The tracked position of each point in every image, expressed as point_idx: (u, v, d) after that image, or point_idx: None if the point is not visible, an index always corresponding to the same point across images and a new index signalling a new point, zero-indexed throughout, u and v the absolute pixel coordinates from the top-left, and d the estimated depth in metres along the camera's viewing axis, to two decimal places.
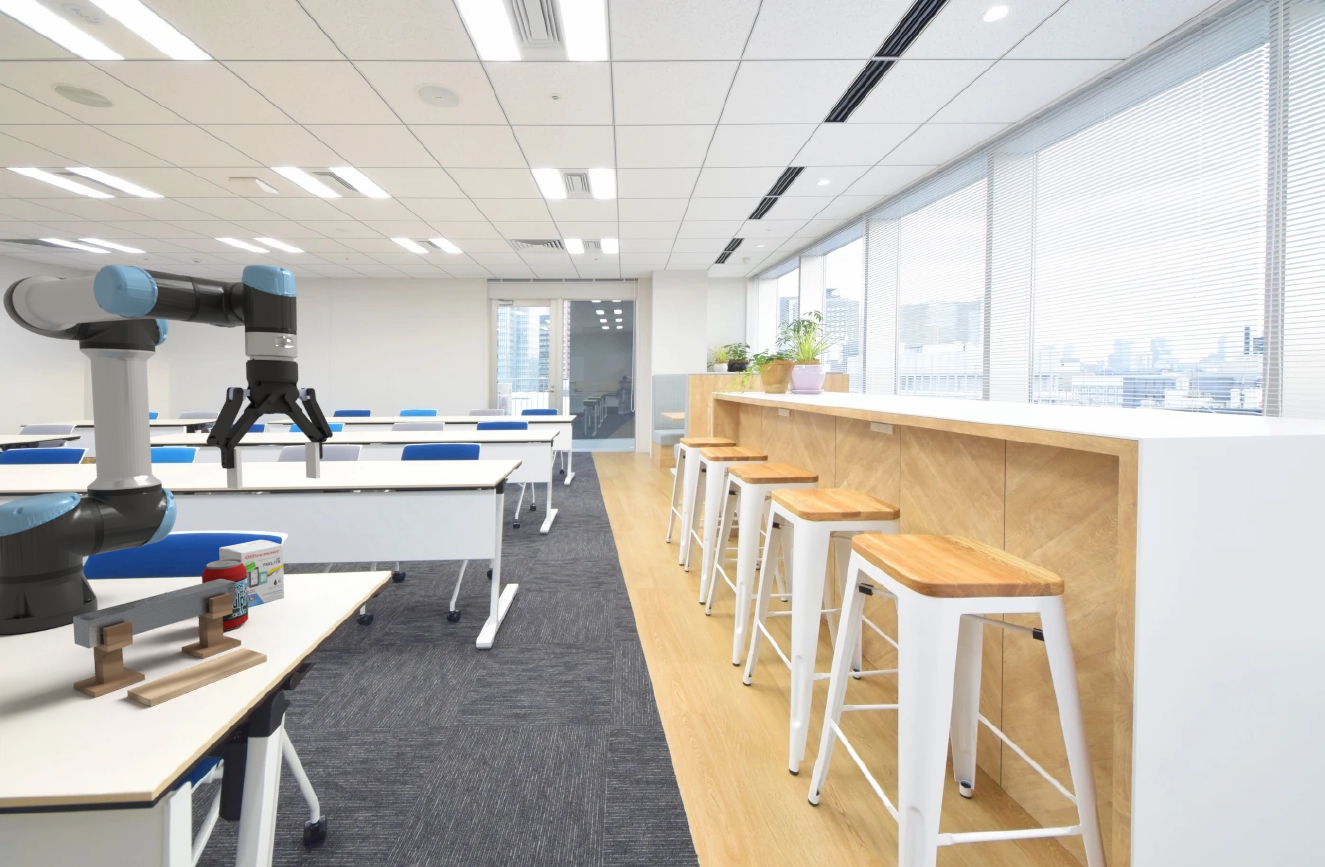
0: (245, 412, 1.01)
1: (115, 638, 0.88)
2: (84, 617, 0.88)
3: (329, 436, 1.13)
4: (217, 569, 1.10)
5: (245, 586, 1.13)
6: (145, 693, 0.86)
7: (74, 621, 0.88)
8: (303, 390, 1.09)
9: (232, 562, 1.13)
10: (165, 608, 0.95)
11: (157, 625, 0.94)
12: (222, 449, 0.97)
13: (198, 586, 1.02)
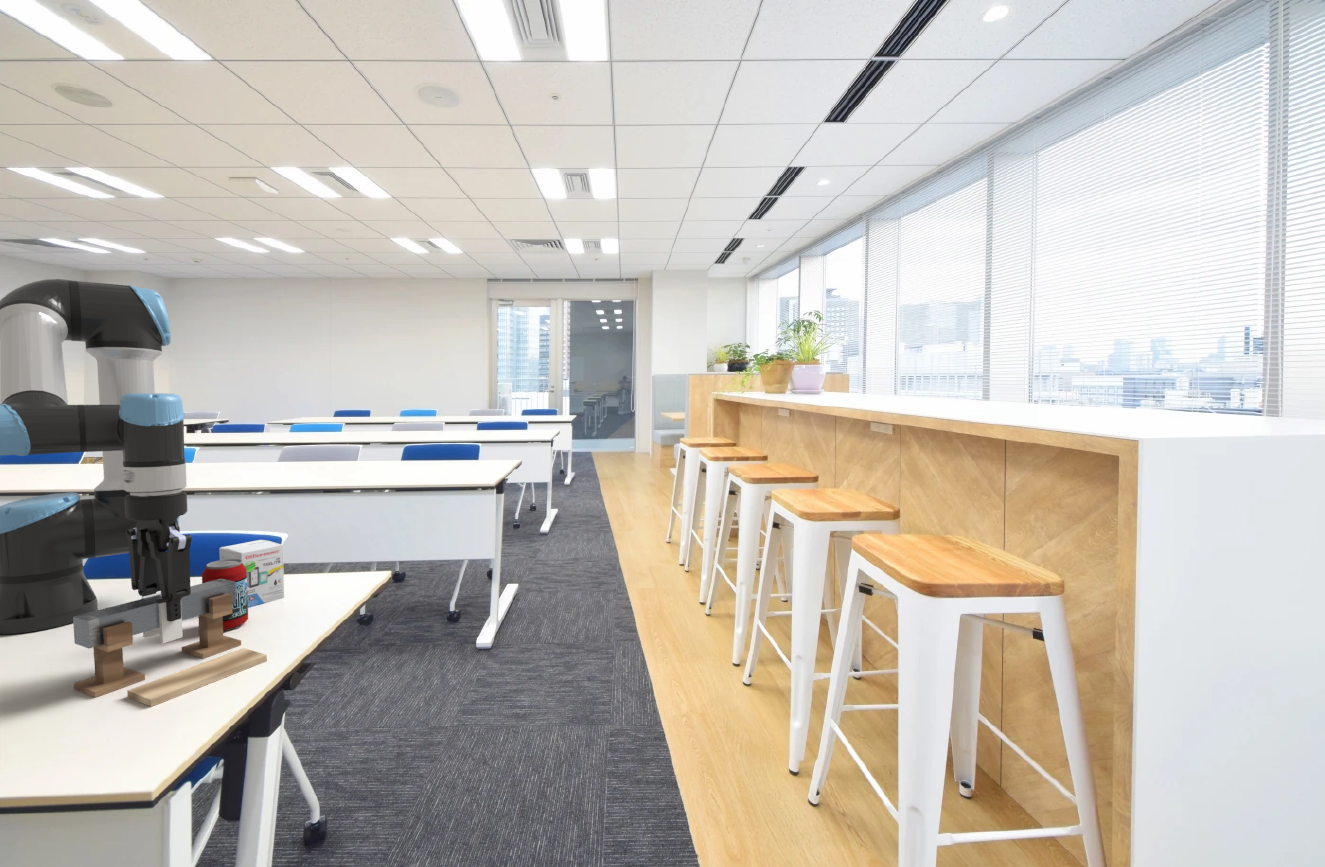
0: None
1: (115, 638, 0.88)
2: (84, 617, 0.88)
3: None
4: (217, 569, 1.10)
5: (245, 586, 1.13)
6: (145, 693, 0.86)
7: (74, 621, 0.88)
8: (173, 535, 0.93)
9: (232, 562, 1.13)
10: None
11: (157, 625, 0.94)
12: None
13: (198, 586, 1.02)
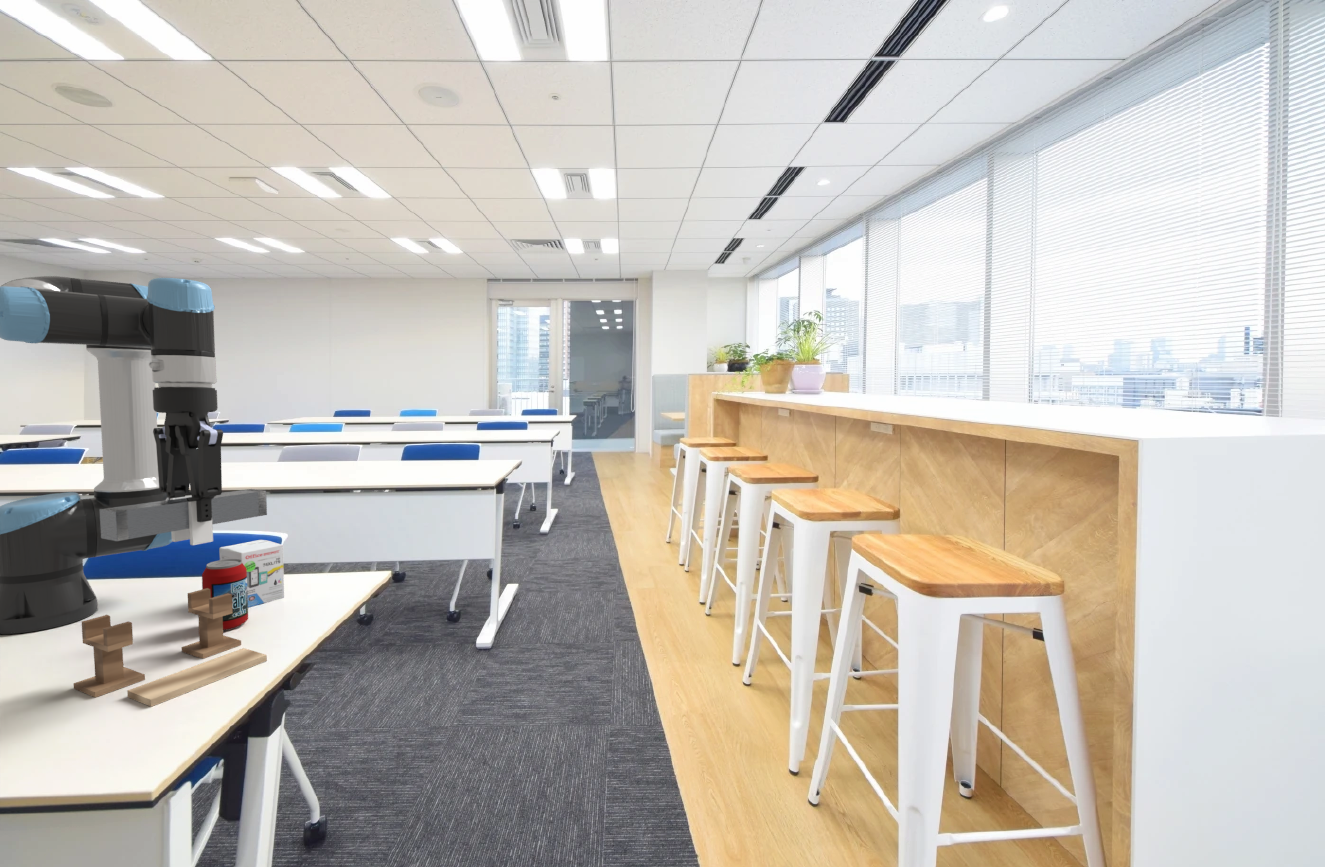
0: None
1: (115, 638, 0.88)
2: (111, 509, 0.83)
3: (200, 495, 0.88)
4: (217, 569, 1.10)
5: (245, 586, 1.13)
6: (145, 693, 0.86)
7: (101, 514, 0.83)
8: (204, 429, 0.88)
9: (232, 562, 1.13)
10: None
11: (187, 526, 0.89)
12: None
13: (228, 493, 0.97)
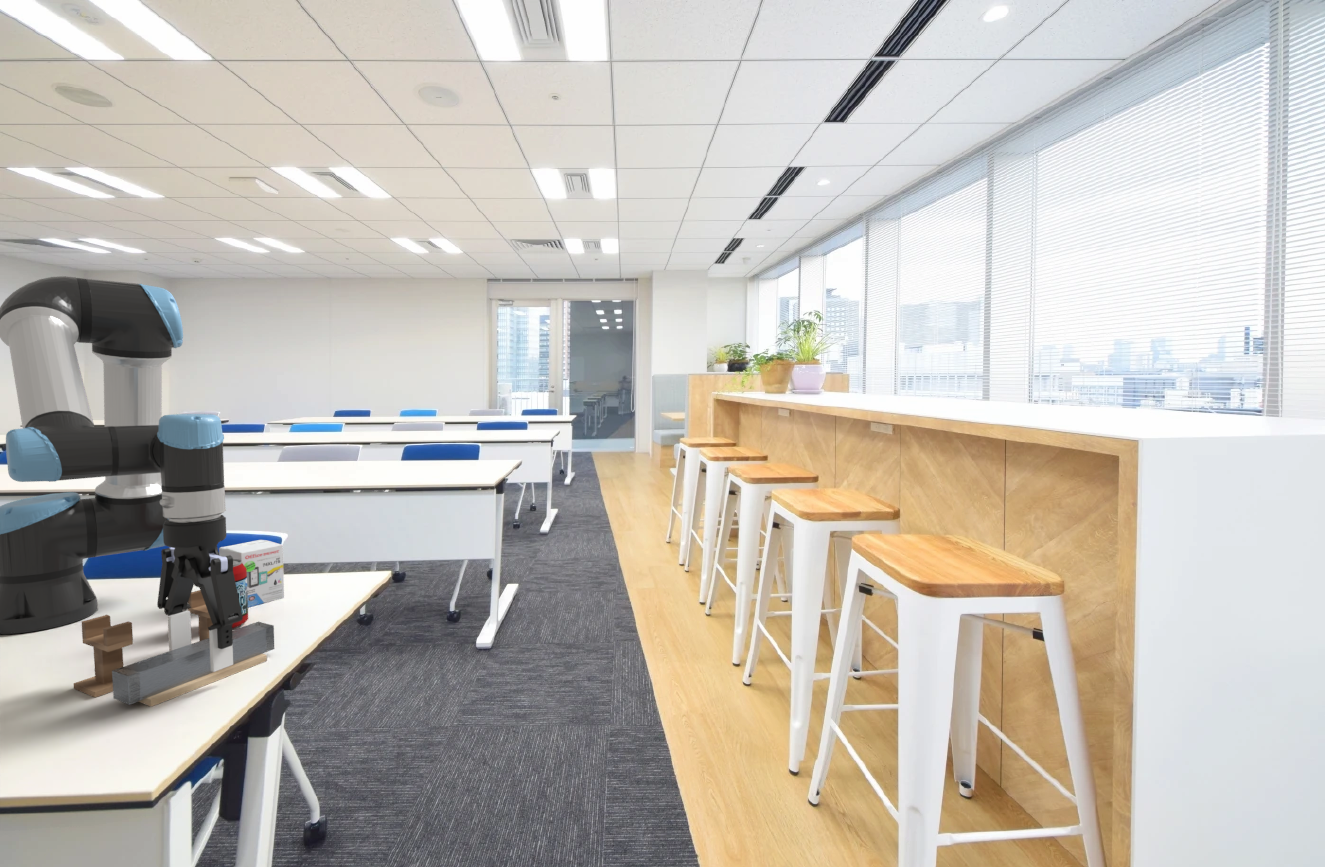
0: None
1: (115, 638, 0.88)
2: (124, 671, 0.84)
3: (221, 624, 0.88)
4: None
5: (245, 586, 1.13)
6: None
7: (113, 675, 0.84)
8: (214, 558, 0.89)
9: None
10: (205, 657, 0.92)
11: (197, 676, 0.91)
12: None
13: (236, 631, 0.98)
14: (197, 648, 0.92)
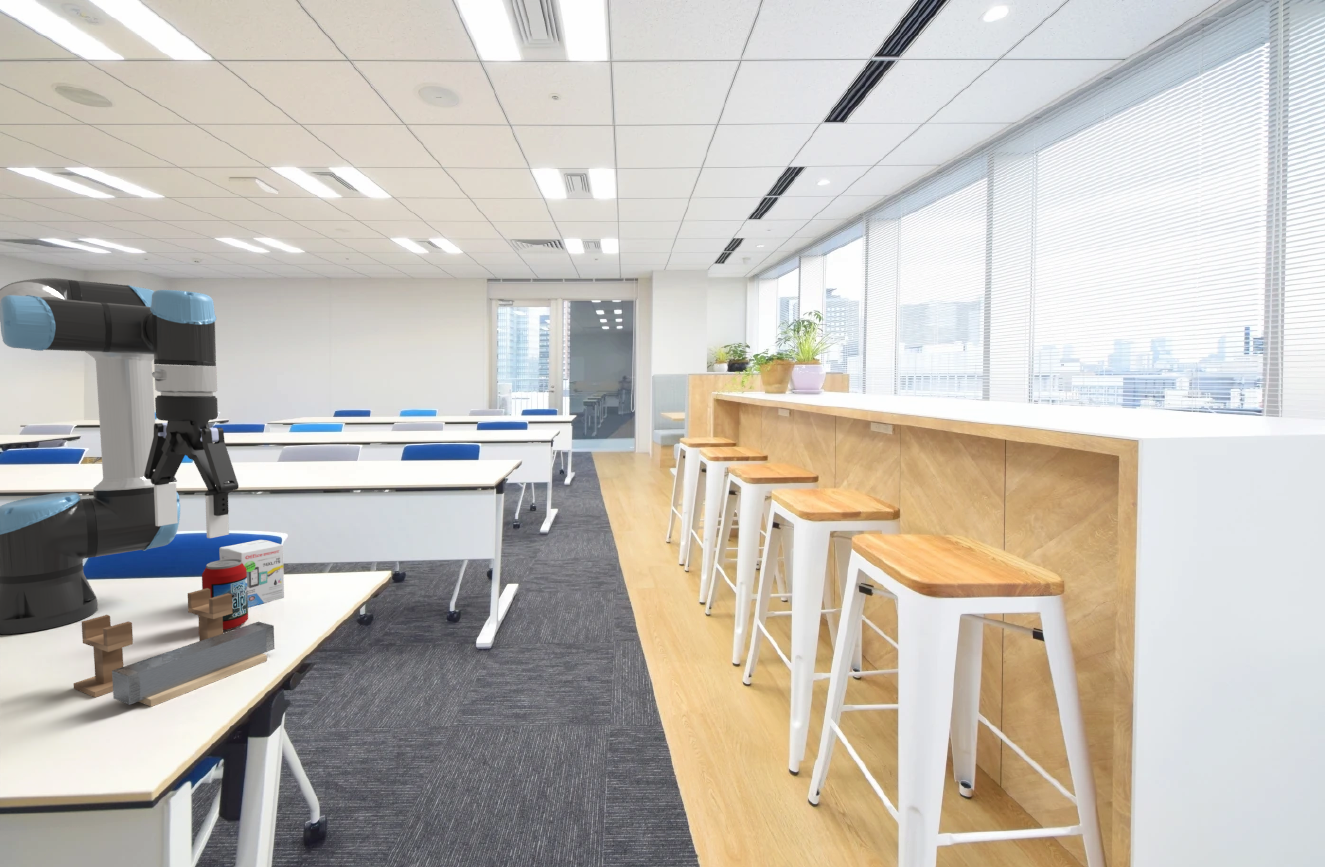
0: None
1: (115, 638, 0.88)
2: (124, 671, 0.84)
3: (218, 490, 0.89)
4: (217, 569, 1.10)
5: (245, 586, 1.13)
6: None
7: (113, 675, 0.84)
8: None
9: (232, 562, 1.13)
10: (205, 657, 0.92)
11: (197, 676, 0.91)
12: None
13: (236, 631, 0.98)
14: (197, 648, 0.92)
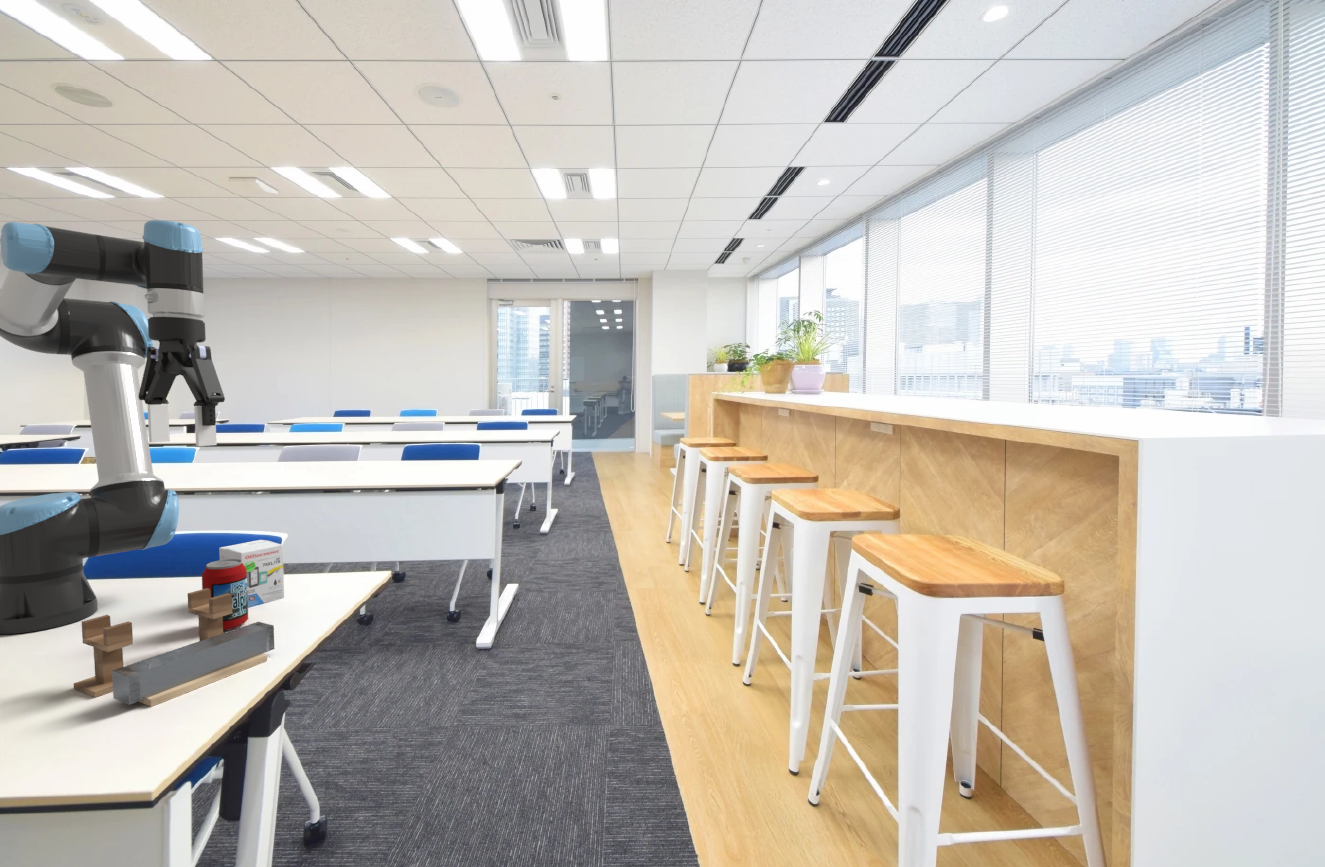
0: None
1: (115, 638, 0.88)
2: (124, 671, 0.84)
3: (206, 400, 0.98)
4: (217, 569, 1.10)
5: (245, 586, 1.13)
6: None
7: (113, 675, 0.84)
8: None
9: (232, 562, 1.13)
10: (205, 657, 0.92)
11: (197, 676, 0.91)
12: None
13: (236, 631, 0.98)
14: (197, 648, 0.92)
